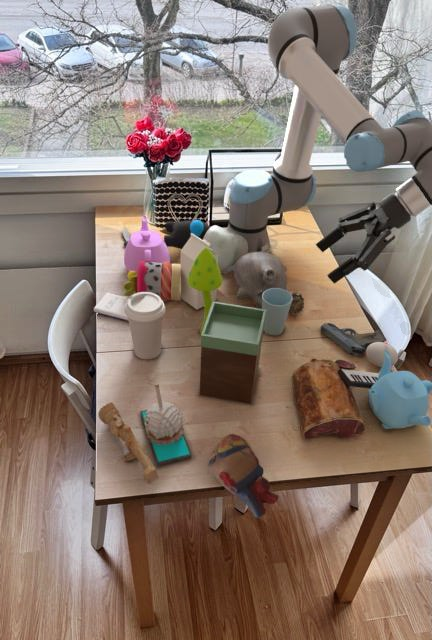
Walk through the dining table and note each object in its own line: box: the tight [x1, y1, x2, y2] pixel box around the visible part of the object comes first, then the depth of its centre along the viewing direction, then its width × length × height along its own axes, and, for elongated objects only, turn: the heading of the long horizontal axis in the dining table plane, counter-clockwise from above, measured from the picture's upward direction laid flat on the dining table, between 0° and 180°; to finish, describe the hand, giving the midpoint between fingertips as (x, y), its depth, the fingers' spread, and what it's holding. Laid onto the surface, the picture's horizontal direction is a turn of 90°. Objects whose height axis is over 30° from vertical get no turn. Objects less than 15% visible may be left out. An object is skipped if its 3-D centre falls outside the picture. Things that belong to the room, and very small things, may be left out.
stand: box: [199, 328, 264, 405], centre depth 124 cm, size 12×12×15 cm
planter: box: [203, 224, 248, 276], centre depth 159 cm, size 12×12×11 cm
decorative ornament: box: [143, 382, 185, 446], centre depth 112 cm, size 8×8×15 cm
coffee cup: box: [124, 292, 167, 360], centre depth 131 cm, size 10×10×15 cm
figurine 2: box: [365, 340, 399, 368], centre depth 134 cm, size 8×6×7 cm
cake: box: [122, 261, 181, 302], centre depth 148 cm, size 10×11×15 cm
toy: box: [163, 219, 212, 250], centre depth 165 cm, size 9×11×15 cm
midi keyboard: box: [338, 368, 379, 390], centre depth 126 cm, size 18×1×5 cm
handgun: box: [320, 322, 388, 356], centre depth 142 cm, size 2×14×12 cm
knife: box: [121, 226, 131, 247], centre depth 172 cm, size 17×1×5 cm
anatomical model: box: [207, 433, 279, 519], centre depth 109 cm, size 9×13×15 cm
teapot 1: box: [123, 215, 171, 273], centre depth 158 cm, size 20×13×12 cm, turn 9°
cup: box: [262, 288, 293, 336], centre depth 141 cm, size 8×8×10 cm
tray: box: [200, 301, 267, 356], centre depth 118 cm, size 12×12×3 cm
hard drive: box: [93, 292, 130, 322], centre depth 147 cm, size 2×8×12 cm
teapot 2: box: [367, 350, 432, 430], centre depth 120 cm, size 15×14×11 cm
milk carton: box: [180, 233, 218, 310], centre depth 146 cm, size 7×7×19 cm
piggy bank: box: [224, 252, 292, 309], centre depth 152 cm, size 18×16×14 cm
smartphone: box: [140, 409, 192, 467], centre depth 117 cm, size 7×1×15 cm
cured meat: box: [291, 357, 367, 439], centre depth 125 cm, size 18×25×7 cm
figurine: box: [98, 401, 159, 486], centre depth 111 cm, size 7×4×20 cm
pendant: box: [288, 292, 305, 318], centre depth 148 cm, size 5×8×5 cm
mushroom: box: [188, 248, 223, 334], centre depth 133 cm, size 8×8×25 cm
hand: (324, 263), depth 131 cm, fingers open, 13 cm apart
